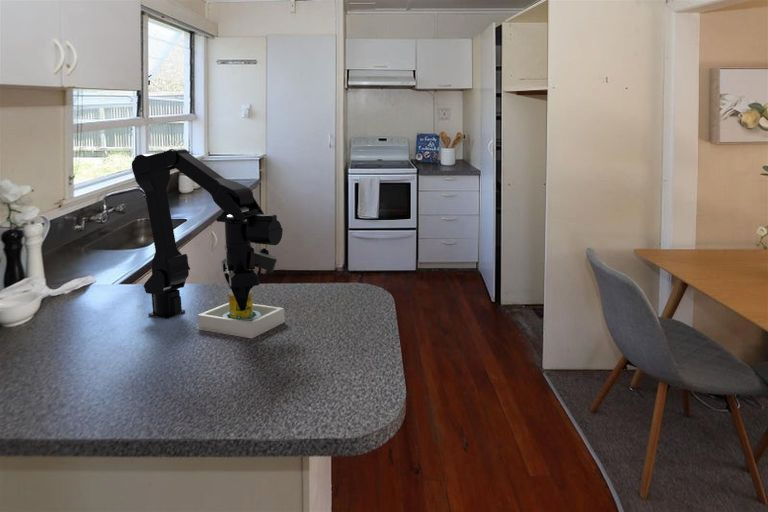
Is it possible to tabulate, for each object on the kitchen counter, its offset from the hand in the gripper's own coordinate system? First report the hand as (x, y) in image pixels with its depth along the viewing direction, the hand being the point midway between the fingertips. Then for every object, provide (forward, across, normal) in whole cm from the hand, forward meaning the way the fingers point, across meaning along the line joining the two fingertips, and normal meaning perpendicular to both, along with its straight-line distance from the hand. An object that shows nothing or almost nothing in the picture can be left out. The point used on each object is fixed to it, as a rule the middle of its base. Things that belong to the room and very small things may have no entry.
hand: (241, 307), depth 154 cm
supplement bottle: (+3, 0, 0) cm, 3 cm away
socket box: (+4, 0, 0) cm, 5 cm away
